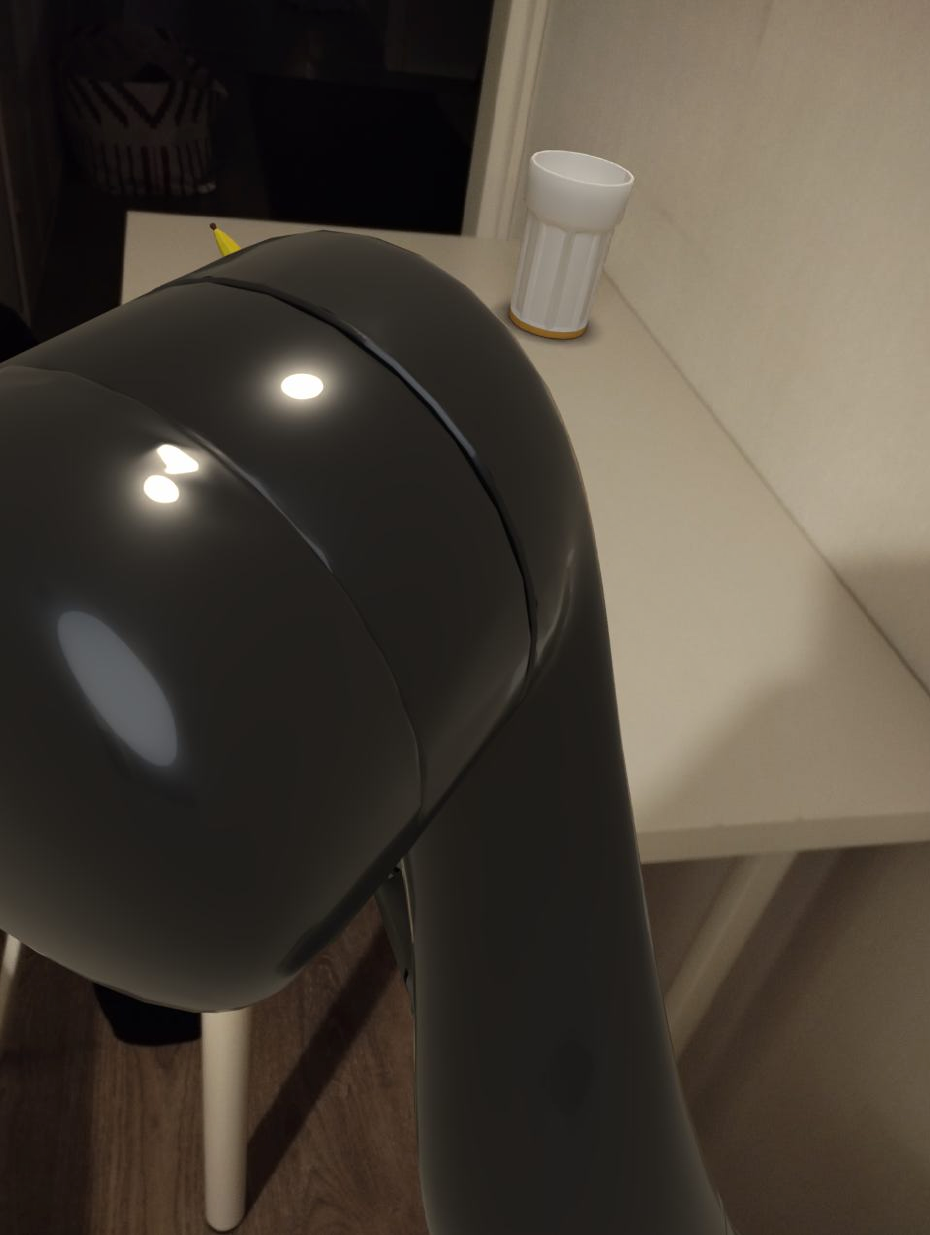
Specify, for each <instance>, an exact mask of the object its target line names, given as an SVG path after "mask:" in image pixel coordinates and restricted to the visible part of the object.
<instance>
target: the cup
mask: <svg viewBox="0 0 930 1235" xmlns="http://www.w3.org/2000/svg"><path fill="white" fill-rule="evenodd" d="M635 181H636V179H635V177H634V176H633V174H632V173H631V172H630V171H629V170H628V169H626V168H624V167H623V166H621V165H620V164H618V163H615V162H612V161H611V160H608V159H604V158H601V157H598V156H595V155H590V154H586V153H583V152H578V151H577V152H576V151H570V150H560V149H559V150H558V149H557V150H556V149H555V150H554V149H546V150H541V151H537V152H535V153H533V155H531V156H530V158H529V163H528V170H527V175H526V181H525V187H524V194H523V201H524V203H525V205H526V212H525V220H524V224H523V229H522V230H523V231H522V236H521V241H520V242H521V243H520V248H519V253H518V259H517V266H516V270H515V271H516V272H515V277H514V283H513V290H512V295H511V300H510V307H509V313H508V314H509V317H510V319H511V321H512V322H513V324H515V325H516V326H518V328H520V329H522V330H524V331H526V332H528V333H530V334H533V335H536V336H540V337H543V338H546V339H557V340H570V339H575V338H578V337H580V336H582V335H583V334H584V333H585V331H586V329H587V325H588V322H589V319H590V315H591V312H592V309H593V306H594V301H595V299H596V295H597V291H598V289H599V288H598V287H599V284H600V281H601V278H602V275H603V270H604V267H605V263H606V260H607V256H608V253H609V250H610V247H611V243H612V240H613V236H614V233H615V230H616V227H618V226H619V225H620V224H621V223H622V221H623V220H624V218H625V217H624V216H625V214H626V211H627V208H628V203H629V200H630V197H631V193H632V190H633V186H634V183H635Z"/></svg>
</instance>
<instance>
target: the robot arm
mask: <svg viewBox="0 0 930 1235" xmlns="http://www.w3.org/2000/svg"><path fill="white" fill-rule="evenodd" d="M588 498H589V497H588V494H587V490H586V486H585V482H584V478H583V474H582V470H581V467H580V463H579V460H578V457H577V454H576V451H575V448H574V445H573V442H572V439H571V436H570V434H569V432H568V429H567V426H566V424H565V422H564V419H563V416H562V414H561V412H560V409H559V407H558V405H557V403H556V400H555V398H554V396H553V393H552V392H551V390H550V387H549V386H548V385H547V383H546V381H545V379H544V378H543V377H542V375H541V374H540V372H539V371H538V369H537V368H536V366H535V365H534V363H533V361H532V360H531V358H530V357H529V355H528V354H527V353H526V351H525V349H524V347H523V346H522V345H521V343H520V342H519V340H518V339H517V337H516V335H515V334H514V332H513V331H512V330H511V328H510V327H508V326H507V325H506V323H504V322H503V320H501V318H500V317H498V315H497V314H496V313H495V312H494V311H493V310H492V309H491V308H490V307H489V306H488V305H487V304H486V303H485V302H484V301H483V300H482V299H481V298H480V297H479V296H478V295H477V294H476V293H475V292H474V291H473V290H472V289H471V288H470V287H469V286H467V285H466V284H465V283H463V282H462V281H461V280H459V279H457V278H456V277H454V276H453V275H451V274H450V273H449V272H447V271H446V270H444V269H443V268H441V267H440V266H439V265H437V264H435V263H434V262H433V261H431V260H430V259H428V258H426V257H425V256H424V255H422V254H419V253H417V252H414V251H411V250H410V249H407V248H404V247H401V246H399V245H397V244H394V243H392V242H389V241H387V240H384V239H381V238H379V237H375V236H371V235H368V234H359V233H352V232H344V231H337V230H328V229H319V230H312V231H305V232H299V233H293V234H292V233H291V234H286V235H279V236H273V237H270V238H267V239H264V240H262V241H259V242H256V243H253V244H251V245H249V246H246V247H245V246H244V247H243V248H241V250H238V251H236V252H233V253H231V254H228V255H226V256H224V257H222V256H221V257H219V258H218V259H216V260H214V261H211V262H210V263H208V264H206V265H203V266H201V267H199V268H196V269H195V270H193V271H191V272H189V273H187V274H184V275H182V276H179V277H177V278H175V279H172V280H170V281H168V282H166V283H163V284H160V285H159V286H157V287H155V288H153V289H151V290H150V291H147V292H145V293H144V294H141V295H139V296H137V297H135V298H133V299H131V300H129V301H127V302H125V303H123V304H121V305H119V306H117V307H114V308H113V309H110V310H108V311H106V312H104V313H102V314H100V315H97V316H95V317H94V318H92V319H89V320H88V321H85V322H83V323H82V324H79V325H77V326H75V327H73V328H71V329H68V330H67V331H65V332H63V333H61V334H58V335H56V336H55V337H52V338H50V339H48V340H46V341H43V342H42V343H40V344H37V345H35V346H33V347H31V348H29V349H27V350H25V351H23V352H21V353H19V354H17V355H15V356H12V357H11V358H9V359H7V360H4V361H2V362H0V930H2V931H3V932H4V933H6V934H8V935H9V936H11V937H13V938H14V939H15V940H17V941H19V942H20V943H22V944H24V945H25V946H26V947H28V948H29V949H32V950H33V951H34V952H36V953H38V954H39V955H42V956H43V957H45V958H47V959H49V960H51V961H52V962H54V963H56V964H58V965H60V966H62V967H63V968H66V969H68V970H69V971H71V972H73V973H75V974H77V975H79V976H81V977H82V978H84V979H86V980H88V981H89V982H92V983H95V984H97V985H99V986H102V987H105V988H107V989H110V990H112V991H115V992H117V993H120V994H123V995H125V996H127V997H131V998H132V999H135V1000H138V1001H140V1002H142V1003H147V1004H150V1005H151V1004H152V1005H156V1006H160V1007H161V1006H162V1007H165V1008H170V1009H174V1010H180V1011H185V1012H189V1013H194V1014H198V1013H199V1014H220V1013H227V1012H228V1013H229V1012H236V1011H240V1010H244V1009H247V1008H250V1007H252V1006H255V1005H259V1004H260V1003H262V1002H264V1001H266V1000H267V999H269V998H271V997H273V996H274V995H276V994H278V993H281V992H283V991H285V990H286V989H288V987H289V986H291V985H292V984H293V983H294V982H295V981H296V980H297V979H298V978H299V977H301V976H302V975H303V974H304V973H305V972H306V971H307V970H309V968H311V967H312V966H313V965H314V964H315V963H316V962H317V961H318V960H319V959H320V958H321V957H322V956H323V955H324V954H325V953H326V952H327V950H329V949H330V947H332V945H333V944H334V943H335V942H336V941H337V940H338V939H339V938H340V936H342V934H343V933H344V932H345V930H346V929H347V928H348V927H349V926H350V924H351V923H352V922H353V920H354V919H355V918H356V917H357V915H359V913H360V912H361V911H362V909H363V908H364V907H365V905H366V904H367V903H368V902H369V901H370V900H371V899H372V897H374V900H375V903H376V906H377V909H378V912H379V916H380V918H381V921H382V924H383V927H384V930H385V932H386V936H387V938H388V941H389V944H390V948H391V950H392V953H393V955H394V959H395V962H396V964H397V967H398V970H399V973H400V976H401V979H402V982H403V985H404V989H405V991H406V993H407V996H408V1000H409V1002H410V1005H409V1008H410V1012H411V1016H412V1018H413V1120H414V1121H413V1122H414V1137H415V1150H416V1162H417V1172H418V1180H419V1188H420V1195H421V1196H420V1198H421V1201H422V1206H423V1211H424V1216H425V1222H426V1224H427V1228H428V1231H429V1235H742V1234H741V1233H740V1232H739V1231H738V1229H737V1228H736V1227H735V1226H734V1224H733V1223H732V1222H731V1219H730V1216H729V1214H728V1211H727V1209H726V1206H725V1204H724V1201H723V1197H722V1195H721V1193H720V1191H719V1187H718V1184H717V1182H716V1180H715V1177H714V1175H713V1174H714V1173H713V1172H712V1169H711V1166H710V1163H709V1162H708V1159H707V1156H706V1154H705V1151H704V1149H703V1146H702V1143H701V1140H700V1137H699V1135H698V1131H697V1128H696V1125H695V1124H696V1123H695V1121H694V1119H693V1116H692V1112H691V1110H690V1105H689V1101H688V1099H687V1095H686V1091H685V1088H684V1084H683V1080H682V1077H681V1073H680V1069H679V1066H678V1065H679V1064H678V1063H677V1059H676V1054H675V1049H674V1044H673V1039H672V1035H671V1030H670V1026H669V1020H668V1014H667V1010H666V1004H665V999H664V993H663V988H662V983H661V978H660V973H659V967H658V962H657V957H656V949H655V943H654V939H653V931H652V925H651V919H650V914H649V907H648V901H647V895H646V894H647V893H646V889H645V888H646V887H645V881H644V875H643V870H642V863H641V856H640V850H639V843H638V835H637V829H636V822H635V815H634V809H633V803H632V797H631V789H630V783H629V778H628V770H627V764H626V757H625V751H624V745H623V737H622V729H621V721H620V713H619V705H618V704H619V703H618V697H617V687H616V680H615V679H616V678H615V673H614V664H613V657H612V656H613V655H612V648H611V639H610V638H611V637H610V631H609V630H610V629H609V623H608V622H609V621H608V614H607V606H606V598H605V593H604V592H605V591H604V585H603V578H602V570H601V565H600V559H599V552H598V546H597V540H596V533H595V529H594V524H593V518H592V514H591V509H590V503H589V499H588Z"/></svg>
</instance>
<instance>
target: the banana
mask: <svg viewBox="0 0 930 1235" xmlns="http://www.w3.org/2000/svg"><path fill="white" fill-rule="evenodd" d="M209 229H211V230H212V231H213V234H214V238H215V243H216V246H217V248H218V250H219V253H220V255H221V258H222V257H224V256H226V255H228V254H231V253H233V252H236V251H238V250H241V249H242V248H241V246H240V245H239V244H238V243H236V241H235V240H234V239H232V238H231V237H230V236H229V235H228V234H227V233H225V232H224V231H222V230H220V229H219V228H218V227H217V224H216V223H215V222H211V223H209Z"/></svg>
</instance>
